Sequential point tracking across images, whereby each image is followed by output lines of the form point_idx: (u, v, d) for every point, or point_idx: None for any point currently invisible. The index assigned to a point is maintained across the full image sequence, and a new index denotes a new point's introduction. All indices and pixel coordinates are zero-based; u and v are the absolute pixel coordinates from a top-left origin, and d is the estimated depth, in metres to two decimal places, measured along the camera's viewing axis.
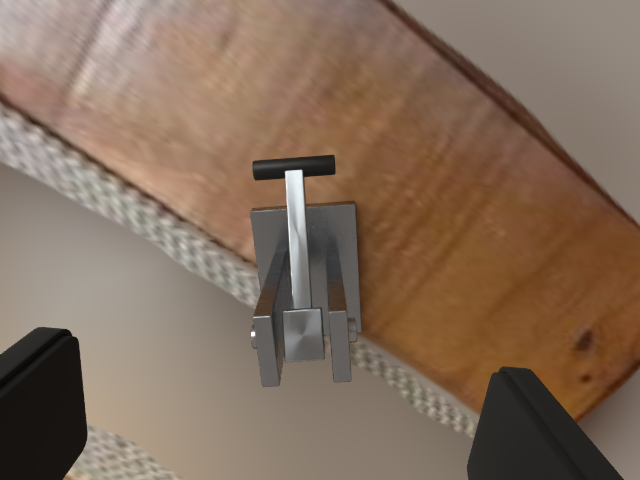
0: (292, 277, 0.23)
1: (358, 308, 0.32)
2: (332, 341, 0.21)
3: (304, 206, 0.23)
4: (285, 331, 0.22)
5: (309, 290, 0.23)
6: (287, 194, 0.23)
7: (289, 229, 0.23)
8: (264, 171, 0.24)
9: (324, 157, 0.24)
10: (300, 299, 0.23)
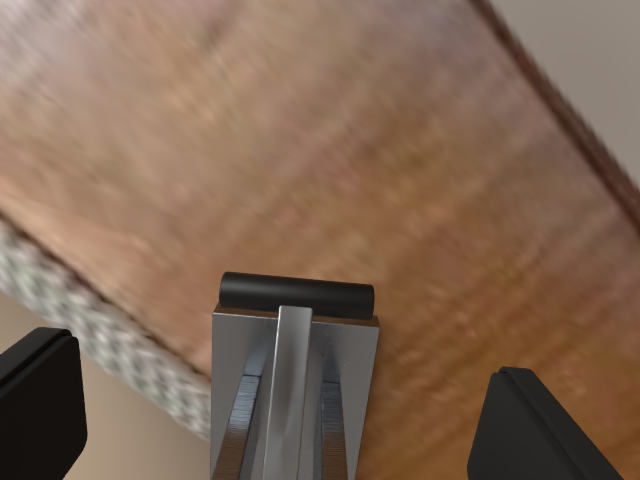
0: None
1: (354, 467, 0.21)
2: None
3: (305, 380, 0.12)
4: None
5: None
6: (276, 351, 0.12)
7: (269, 421, 0.12)
8: (241, 300, 0.13)
9: (356, 291, 0.13)
10: None
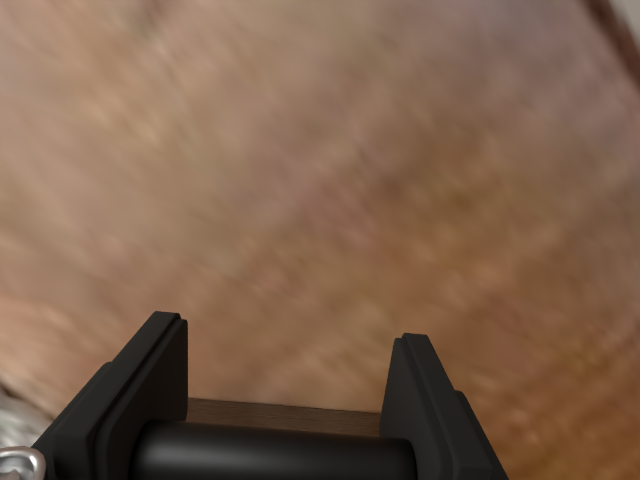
0: None
1: None
2: None
3: None
4: None
5: None
6: None
7: None
8: None
9: (384, 463, 0.07)
10: None
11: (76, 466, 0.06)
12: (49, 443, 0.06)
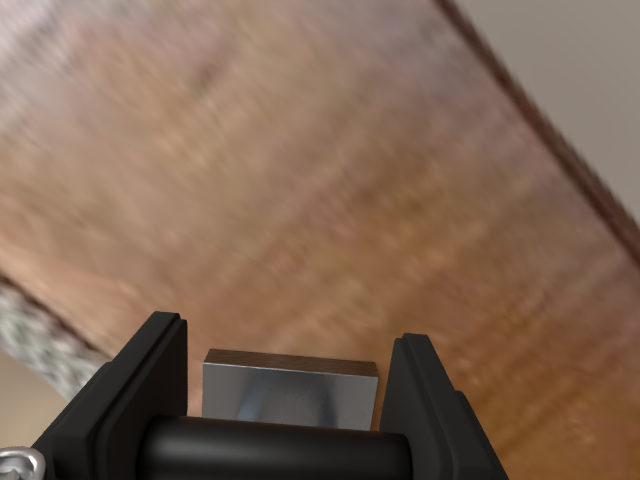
0: None
1: None
2: None
3: None
4: None
5: None
6: None
7: None
8: None
9: (380, 474, 0.07)
10: None
11: (76, 466, 0.06)
12: (49, 443, 0.06)
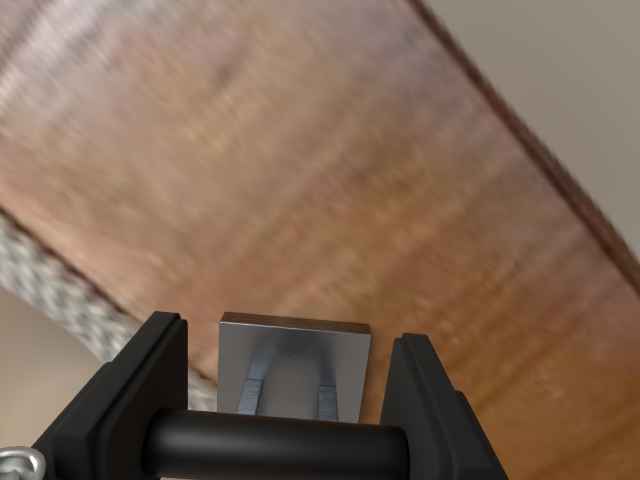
0: None
1: None
2: None
3: None
4: None
5: None
6: None
7: None
8: (182, 478, 0.07)
9: (378, 474, 0.07)
10: None
11: (76, 466, 0.06)
12: (49, 443, 0.06)
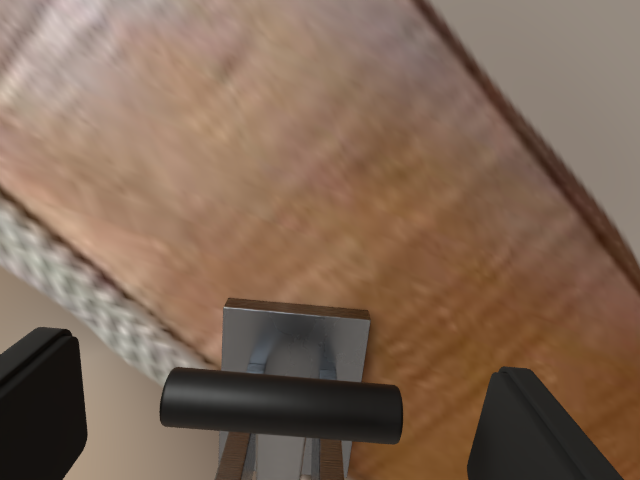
0: None
1: (348, 448, 0.24)
2: None
3: None
4: None
5: None
6: (258, 466, 0.09)
7: None
8: (196, 428, 0.08)
9: (374, 424, 0.08)
10: None
11: None
12: None
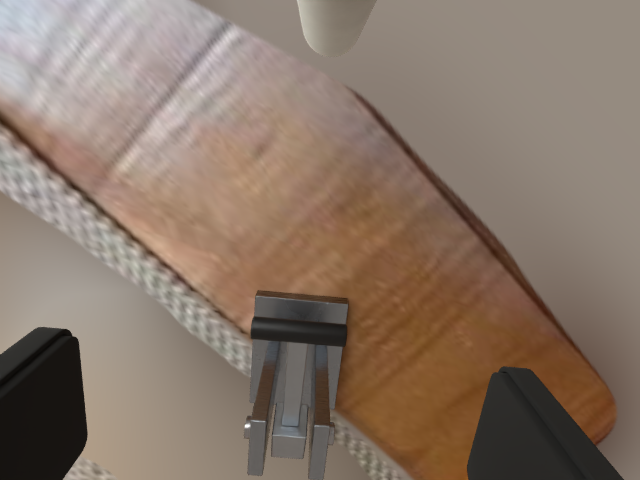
0: (284, 409, 0.24)
1: (335, 389, 0.36)
2: (313, 448, 0.25)
3: (304, 369, 0.22)
4: (273, 444, 0.26)
5: (298, 418, 0.25)
6: (287, 359, 0.22)
7: (286, 382, 0.23)
8: (264, 339, 0.21)
9: (335, 337, 0.20)
10: (289, 421, 0.25)
11: None
12: None
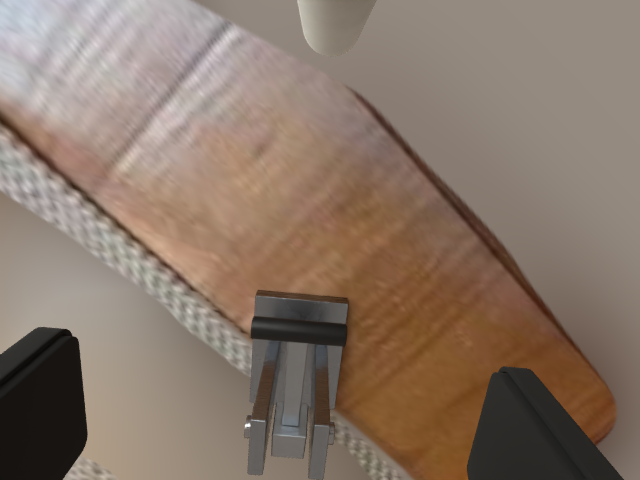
0: (284, 409, 0.24)
1: (335, 389, 0.36)
2: (313, 447, 0.25)
3: (304, 369, 0.22)
4: (273, 444, 0.26)
5: (298, 417, 0.25)
6: (287, 359, 0.22)
7: (286, 381, 0.23)
8: (264, 339, 0.21)
9: (335, 337, 0.20)
10: (289, 421, 0.25)
11: None
12: None
